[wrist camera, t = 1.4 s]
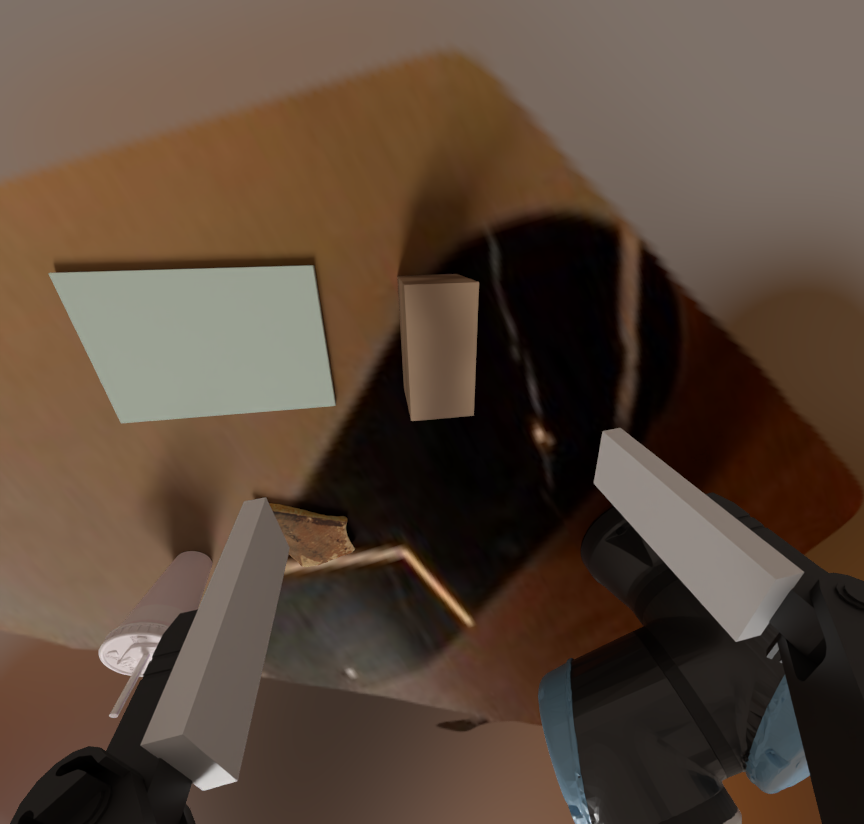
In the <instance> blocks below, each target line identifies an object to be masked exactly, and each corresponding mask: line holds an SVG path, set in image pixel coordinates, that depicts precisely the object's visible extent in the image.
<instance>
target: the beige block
mask: <svg viewBox="0 0 864 824" xmlns="http://www.w3.org/2000/svg"><path fill="white" fill-rule="evenodd" d="M397 278H398V295H399V311H400V328H401V345H402V362H403V378H404V390H405V394H406V399H407V404H408V408H409V413H410V417H411V421H419V420H430V419H441V418H452V417H463V416H474V396H475V371H476V346H477V321H478V297H479V282H477V281H475V280H472V279H469V278H466V277H464V276H461V275H458V274H440V275H410V276H397Z"/></svg>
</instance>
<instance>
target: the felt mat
mask: <svg viewBox="0 0 864 824" xmlns="http://www.w3.org/2000/svg"><path fill="white" fill-rule="evenodd" d="M48 274H49V276H50V278H51V280H52V282H53V284H54V286H55V288H56V290H57V292H58V294H59V296H60V298H61V300H62V302H63V305H64V307H65V309H66V311H67V313H68V315H69V317H70V319H71V321H72V323H73V325H74V327H75V329H76V331H77V333H78V335H79V338H80V340H81V342H82V344H83V346H84V348H85V350H86V352H87V354H88V356H89V358H90V360H91V362H92V364H93V366H94V368H95V371H96V373H97V375H98V377H99V379H100V381H101V383H102V385H103V387H104V389H105V391H106V393H107V395H108V397H109V399H110V401H111V404H112V406H113V408H114V410H115V412H116V414H117V416H118V418H119V420H120V422H121V423H131V422H143V421H155V420H168V419H180V418H192V417H204V416H217V415H229V414H241V413H253V412H266V411H278V410H290V409H302V408H315V407H327V406H336V400H335V393H334V387H333V381H332V375H331V368H330V362H329V356H328V350H327V343H326V337H325V331H324V324H323V318H322V312H321V306H320V299H319V293H318V287H317V281H316V274H315V268H314V265H301V266H266V267H231V268H196V269H161V270H126V271H91V272H56V273H48Z"/></svg>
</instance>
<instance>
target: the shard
mask: <svg viewBox="0 0 864 824" xmlns="http://www.w3.org/2000/svg"><path fill="white" fill-rule="evenodd" d="M269 505H270V507H271V509H272V511H273V513H274V515H275V518H276V520H277V522H278V524H279V526H280V528H281V531H282V533H283V535H284V537H285V539H286V541H287V543H288V546H289V548H290V549H289V553H288V554H289V555H290V556H292V558H294V559H295V560H297V561H298V563H299V564H300V565H301V566H304V567H309V566H316V565H320V564H322V563H326V562H328V561H330V560H333V559H335V558H338V557H340V556H343V555H347V554H349V553H352V552H353V551H354V550H355V548H354V546H353V545H352V543H351V541H350V539H349V538H348V536H347V531H346V524H347V517H344V516H326V515H323V514H322V515H321V514H318V513H314V512H310V511H307V510H303V509H298V508H293V507H290V506H285V505H281V504H274V503H269Z"/></svg>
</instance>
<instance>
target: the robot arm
mask: <svg viewBox="0 0 864 824" xmlns="http://www.w3.org/2000/svg"><path fill="white" fill-rule="evenodd" d="M594 484H595V486H596V487H597V488H598V489H599V490H600V491H601V492H602V493H603V494H604V496H605V497H606V498H607V499H608V500H609V501H610V502H611V503H612V504H613V506H614V507H613V508H611V509H610V510H608V511H607V512H606V513H604V514H603V515H602V516H601V517H600V518H599V519H598V520H597V521H596V522H595V523H594V524H593V525H592V526H591V528H590V529H589V530H588V532H587V534H586V535H585V537H584V540H583V542H582V546H581V557H582V561H583V563H584V564H585V566H586V567H587V569H588V570H589V572H590V573H591V575H592V576H593V577H594V579H595V580H596V581H598V582H599V583H600V584H602V585H603V586H605V587H606V588H607V589H608V590H609V591H610V592H611V593H613V594H614V595H615V596H616V597H617V598H618V599H619V600H621V601H622V602H623V603H624V604H625V605H627V606H628V607H629V608H630V609H631V610H632V611H633V612H634V613H635V615H636V616H637V618H638V619H639V620H640V622H641V623H642V625H643V626H644V627H642V628H639V629H637V630H635V631H633V632H631V633H628V634H626V635H624V636H622V637H620V638H618V639H616V640H614V641H612V642H610V643H608V644H606V645H604V646H601V647H599V648H597V649H595V650H593V651H591V652H589V653H587V654H585V655H583V656H581V657H579V658H577V659H573V658H570V659H568V660H567V663H565V664H563V665H562V666H560V667H558V668H556V669H554V670H553V671H551V672H549V673H547V674H546V675H545V676H544V677H543V678H542V680H541V682H540V685H539V693H538V699H539V708H540V715H541V721H542V726H543V730H544V734H545V738H546V742H547V746H548V750H549V754H550V757H551V761H552V764H553V767H554V770H555V773H556V776H557V780H558V782H559V785H560V788H561V791H562V794H563V797H564V798H565V801H566V802H567V803H568V806H569V809H570V812H571V815H572V818H573V819H574V822H575V824H742V816H741V813H740V811H739V809H738V808H737V806H736V805H735V803H734V802H733V800H732V798H731V797H730V795H729V794H728V792H727V791H726V789H725V787H724V786H723V784H722V780H724V779H726V778H728V777H730V776H733V775H736V774H738V773H741V772H746V774H747V777H748V778H749V779H750V781H751V782H752V783H754V784H755V785H757V786H758V787H759V788H760V789H761V790H762V791H764V792H765V793H769V794H772V793H777V792H779V791H780V790H782V789H785V788H786V787H791V786H793V785H795V784H797V783H798V782H800V781H802V780H803V779H805V778H806V777H808V776H809V775H810V777H811V781H812V785H813V789H814V793H815V797H816V801H817V805H818V809H819V814H820V817H821V821H822V824H864V581H862V580H859V579H856V578H854V577H851V576H848V575H843V574H838V573H828V572H826V571H825V570H823V569H822V568H820V567H819V566H818V565H816V564H815V563H814V562H812V561H811V560H810V559H808V558H807V557H805V556H804V555H803V554H802V553H800V552H799V551H798V550H796V549H795V548H794V547H792V546H791V545H789V544H788V543H787V542H785V541H784V540H783V539H781V538H780V537H779V536H777V535H776V534H775V533H773V532H772V531H771V530H769V529H768V528H765V527H764V525H763V524H761V523H760V522H759V521H757V520H756V519H755V518H753V517H752V518H751V517H750V515H749V514H748V513H747V512H745V511H744V510H743V509H741V508H740V507H739V506H737V505H736V504H735V503H733V502H731V501H729V500H727V499H725V498H723V497H721V496H719V495H717V494H715V493H708V494H704V493H703V492H702V491H700V490H699V489H698V488H696V487H695V486H694V485H693V484H691V483H690V482H689V481H687V480H686V479H685V478H684V477H682V476H681V475H680V474H679V473H677V472H676V471H675V470H673V469H672V468H671V467H670V466H668V465H667V464H666V463H665V462H663V461H662V460H661V459H659V458H658V457H657V456H656V455H654V454H653V453H652V452H651V451H649V450H648V449H647V448H645V447H644V446H643V445H642V444H640V443H639V442H638V441H636V440H635V439H634V438H633V437H631V436H630V435H629V434H628V433H626V432H625V431H624V430H622V429H621V428H616V429H611V430H606V431H603V432H602V438H601V444H600V449H599V455H598V461H597V466H596V472H595V478H594ZM289 549H290V548H289V546H288V543H287V541H286V539H285V537H284V535H283V533H282V531H281V528H280V526H279V524H278V522H277V520H276V518H275V515H274V513H273V511H272V509H271V507H270V505H269V502H268V500H267V498H266V497H265V498H260V499H254V500H249V501H244V503H243V505H242V508H241V510H240V512H239V515H238V517H237V519H236V522H235V524H234V526H233V529H232V531H231V533H230V536H229V538H228V540H227V543H226V545H225V547H224V550H223V552H222V555H221V557H220V559H219V562H218V564H217V566H216V569H215V571H214V573H213V576H212V578H211V580H210V583H209V585H208V587H207V590H206V592H205V594H204V597H203V599H202V601H201V604H200V606H199V609H197V610H193V611H188V612H184V613H180V614H179V615H178V616H177V618H176V619H175V620H174V621H173V622H172V624H171V625H170V626H169V627H168V629H167V630H166V631H165V632H164V633H163V635H162V637H161V639H160V641H159V643H158V645H157V647H156V649H155V651H154V654H153V656H152V661H150V662H149V664H148V666H147V668H146V670H145V672H144V674H143V679H142V680H141V681H140V682H139V685H138V686H137V689H136V691H135V693H134V695H133V697H132V699H131V701H130V703H129V705H128V707H127V709H126V711H125V713H124V715H123V717H122V720H121V721H120V724H119V726H118V728H117V730H116V732H115V734H114V736H113V738H112V740H111V742H110V744H109V746H108V748H107V750H106V751H105V750H103V749H102V748H99V747H90V746H88V747H86V748H83V749H80V750H78V751H75V752H73V753H71V754H70V755H68V756H67V757H65V758H64V759H62V760H61V761H59V762H58V763H56V764H55V765H54V766H53V767H52V768H51V769H50V770H49V771H48V772H47V773H46V774H45V775H44V776H43V777H41V778H40V780H38V781H37V782H36V784H35V785H34V787H33V788H32V789H31V790H30V792H29V793H28V794H27V796H26V797H25V798H24V799H23V801H22V802H21V803H20V805H19V807H18V809H17V811H16V813H15V815H14V817H13V819H12V821H11V823H10V824H195V821H194V818H193V816H192V813H191V810H190V809H189V807H188V806H187V805H186V801H187V797H188V794H189V791H190V787H191V784H192V783H193V784H194V785H196V786H197V787H199V788H200V789H201V790H207V789H211V788H214V787H218V786H221V785H225V784H229V783H232V782H236V781H238V777H239V772H240V768H241V763H242V758H243V754H244V750H245V745H246V741H247V736H248V732H249V727H250V723H251V718H252V714H253V709H254V705H255V701H256V696H257V692H258V687H259V683H260V678H261V674H262V669H263V665H264V660H265V656H266V651H267V647H268V643H269V638H270V634H271V629H272V625H273V620H274V616H275V611H276V607H277V602H278V598H279V593H280V589H281V584H282V580H283V575H284V571H285V566H286V562H287V558H288V553H289Z"/></svg>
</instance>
